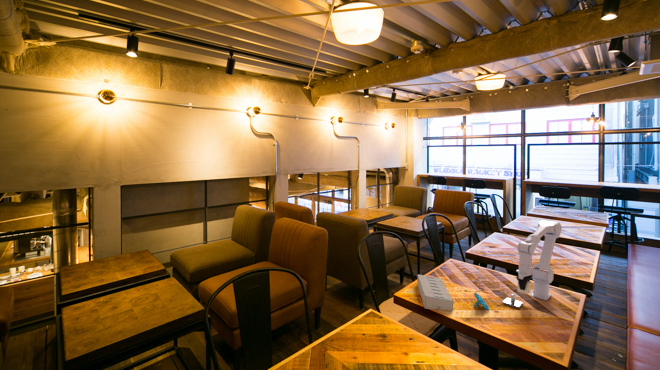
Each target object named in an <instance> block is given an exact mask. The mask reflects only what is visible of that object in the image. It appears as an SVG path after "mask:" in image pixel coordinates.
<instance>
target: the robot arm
mask: <svg viewBox="0 0 660 370" xmlns="http://www.w3.org/2000/svg"><path fill="white" fill-rule="evenodd" d="M561 232H562V224H561V222H559V221H558V222H555V221H550V220H544V219H541V220H539V221H538V222H537V229H536V230H535V232H534V233H532V234H529V235H528V236H527V237H526V238H525V239H524V240H523V241H520V242H518V244H517V249H516V250H517V252H518V257H519V258H518V269H516V271H515V272H516V273H518V275H515V276H516V280H517V283H518V282H519V287H520V289H521V290H525V288H526V284H527V282H528V281H529V282H531V279H532V280H533V288H532V289H533V290H532V293H530V296H531V297H533V298H537V299H541V300H544V301H548V300H549V299H550V297H551V296H552V294H550V284H552V282H553V281H554V270H553V269H552V267H550V263H551V259H552V256H553V252H554V247H555V244H556V240H557V239H559V238H560V236H561ZM543 236H544V242H543V246H542V249H541V253H540V256H539V260H538V263H535V264H533V265H532V263H533V254H534V253H535V250H536V249H537V246H538V245H539V244H540V242H541V238H542V237H543Z"/></svg>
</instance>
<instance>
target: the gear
mask: <svg viewBox="0 0 660 370" xmlns="http://www.w3.org/2000/svg"><path fill="white" fill-rule="evenodd" d="M473 295H474V297H475V298H476V301H475V302H474V304H473V307H474V308H476V307H477V306H479V305H481V306H483V308H484V309H486V310H487V311H489V310H490V307H489V305H488V304H487V302H486V301H485V300H484V299H483V297H482V296H480V295H479V294H478V293H477V292H474V293H473Z"/></svg>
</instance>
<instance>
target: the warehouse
mask: <svg viewBox="0 0 660 370" xmlns="http://www.w3.org/2000/svg"><path fill="white" fill-rule="evenodd" d="M416 283H417V288H418V291H419V295H420V296H421V301H422V304H423V307H424V309H425V310H426V309H427V310H442V311H453V310H454V300H453V298H452V296H451V295H450V292H449V290H448V289H447V287H446V285H445V283H444V281H443V280H442V277H435V276H429V275H424V274H419V273H418V274H417V282H416Z"/></svg>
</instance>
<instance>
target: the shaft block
mask: <svg viewBox="0 0 660 370" xmlns="http://www.w3.org/2000/svg"><path fill="white" fill-rule="evenodd" d="M502 305H506V306H509V307H512V308H516V309H518V310H519V309H520V308H521V307H522V306H523V305H524V302H523V301H522V300H521V301H520V300H516V294H515V293H514V292H513V293H511V294H510V297H505V299H504V300H503V301H502Z"/></svg>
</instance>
